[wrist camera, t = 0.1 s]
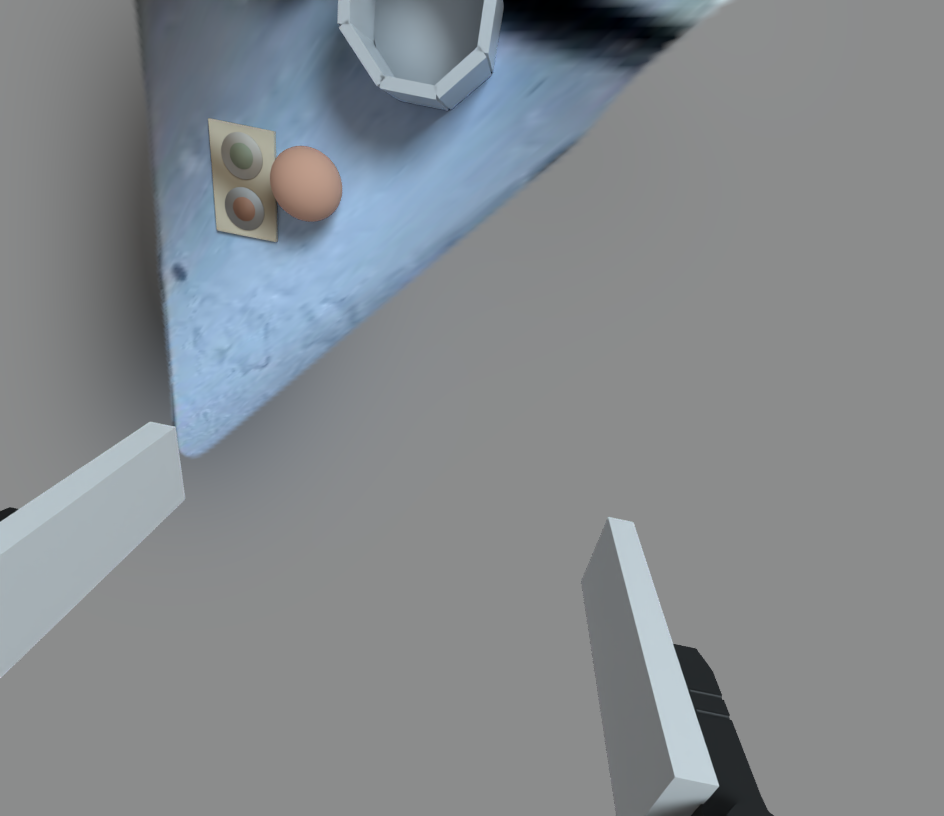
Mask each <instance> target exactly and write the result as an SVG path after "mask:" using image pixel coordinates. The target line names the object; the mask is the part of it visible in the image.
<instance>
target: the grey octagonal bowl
mask: <svg viewBox="0 0 944 816" xmlns="http://www.w3.org/2000/svg"><path fill="white" fill-rule="evenodd" d="M503 9H504V5H503V0H338V24H339V25H340V27H339V29H340V30H341V32H342V33H343V35H344V36H345V38H346V40H347V41H348V43H349V44H350V46H351V47H352V49H353V50H354V52H355V53H356V55H357V57H358V58H359V60H360V61H361V63H362V64H363V66H364V67H365V69H366V70H367V72H368V73H369V75H370V77H371V78H372V80H373V81H374V83H375V84H376V86H377V87H379V88H380V89H382V90H383V91H385V92H386V93H388V94H390V95H391V96H393V97H395V98H396V99H398V100H399V101H402V102H407V103H412V104H417V105H422V106H427V107H432V108H437V109H442V110H447V111H448V109H449V108H450V109H451V110H452V109H453V108H454V107H455V106H456V105H457V104H459V103H460V102H461V101H462V100H463V99H464V98H466V97H467V96H468V95H469V94H470V93H471V92H473V91H474V90H475V89H476V88H477V87H478V86H480V85H481V84H482V83H483V82H484V81H485V80H487V79H488V78H489V77H490V76H491V72H493V71H494V64H495V58H496V52H497V46H498V40H499V34H500V27H501V21H502V15H503ZM490 71H491V72H490Z"/></svg>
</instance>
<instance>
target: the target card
mask: <svg viewBox="0 0 944 816" xmlns="http://www.w3.org/2000/svg"><path fill="white" fill-rule="evenodd" d="M208 122H209V135H210V148H211V161H212V174H213V186H214V199H215V212H216V225H217V230H218V231H223V232H228V233H233V234H238V235H243V236H248V237H253V238H258V239H263V240H268V241H273V242H278V234H277V201H276V199H275V197H274V195H273V192H272V189H271V185H270V172H271V168H272V165H273V162H274V161H275V159H276V132H275V131H270V130H265V129H260V128H255V127H250V126H245V125H240V124H235V123H230V122H225V121H220V120H215V119H210V118H208Z"/></svg>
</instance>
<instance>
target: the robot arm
mask: <svg viewBox="0 0 944 816" xmlns="http://www.w3.org/2000/svg"><path fill="white" fill-rule="evenodd" d="M184 500H185V493H184V486H183V478H182V471H181V464H180V457H179V449H178V442H177V434H176V427H174V426H169V425H164V424H159V423H154V422H149V423H147V424H146V425H144V426H143V427H142V428H140V429H138V430H137V431H135V432H134V433H132V434H131V435H130V436H128V437H126V438H125V439H124V440H122V441H120V442H119V443H118V444H116V445H114V446H113V447H112V448H110V449H108V450H107V451H106V452H104V453H102V454H101V455H99V456H98V457H97V458H95V459H94V460H92V461H90V462H89V463H88V464H86V465H85V466H83V467H82V468H80V469H79V470H77V471H76V472H74V473H73V474H71V475H70V476H68V477H67V478H65V479H64V480H62V481H61V482H59V483H58V484H56V485H55V486H53V487H52V488H50V489H49V490H47V491H46V492H44V493H43V494H41V495H40V496H38V497H37V498H35V499H34V500H32V501H31V502H29V503H28V504H26V505H25V506H23V507H22V508H20V509H16V508H7V509H5V510H2V511H0V678H1V677H2V676H3V675H4V674H5V673H6V672H7V671H8V670H9V669H11V668H12V667H13V666H14V664H16V663H17V662H18V661H19V660H20V659H21V658H22V657H23V656H24V655H25V654H26V653H27V652H28V651H29V650H30V649H31V648H32V647H33V646H34V645H35V644H36V643H37V642H38V641H39V640H40V639H41V638H42V637H43V636H44V635H46V634H47V633H48V632H49V631H50V630H51V629H52V628H53V627H54V626H55V625H56V624H57V623H58V622H59V621H60V620H61V619H62V618H63V617H64V616H65V615H66V614H67V613H68V612H69V611H70V610H71V609H72V608H73V607H74V606H76V604H78V603H79V602H80V600H82V599H83V598H84V597H85V596H86V595H87V594H88V593H89V592H90V591H91V590H92V589H93V588H94V587H95V586H96V585H97V584H98V583H99V582H100V581H101V580H102V579H103V578H104V577H105V576H106V575H107V574H109V573H110V572H111V571H112V570H113V569H114V568H115V567H116V566H117V565H118V564H119V563H120V562H121V561H122V560H123V559H124V558H125V557H126V556H127V555H128V554H129V553H130V552H131V551H132V550H133V549H134V548H135V547H136V546H137V545H138V544H139V543H140V542H142V541H143V540H144V539H145V538H146V537H147V536H148V535H149V534H150V533H151V532H152V531H153V530H154V529H155V528H156V527H157V526H158V525H159V524H160V523H161V522H162V521H163V520H164V519H165V518H166V517H167V516H168V515H169V514H170V513H171V512H172V511H174V510H175V509H176V508H177V507H178V506H179V505H180V504H181V503H182V502H183V501H184ZM581 584H582V591H583V596H584V604H585V611H586V617H587V624H588V630H589V637H590V644H591V651H592V657H593V664H594V671H595V677H596V684H597V691H598V697H599V704H600V711H601V717H602V724H603V731H604V737H605V744H606V751H607V757H608V764H609V771H610V777H611V784H612V791H613V797H614V804H615V811H616V816H774V815H772V814H771V813H770V812H769V811H768V810H767V808H766V805H765V803H764V802H763V799H762V797H761V795H760V792H759V790H758V787H757V784H756V782H755V779H754V777H753V774H752V772H751V769H750V766H749V764H748V761H747V759H746V756H745V753H744V751H743V748H742V746H741V743H740V741H739V738H738V736H737V733H736V730H735V728H734V725H733V722H732V720H730V719H729V712H728V710H727V707H726V704H725V702H724V700H722V698H721V697H722V694H721V691H720V689H719V686H718V684H717V681H716V679H715V676H714V674H713V671H712V670H711V668H710V667H709V666H708V664H707V663H706V661H705V660H704V659H703V657H702V656H701V655H700V653H699V652H698V651H697V649H695V648H691V647H686V646H681V645H676V644H673V643H672V640H671V637H670V633H669V630H668V627H667V624H666V621H665V618H664V615H663V612H662V609H661V606H660V603H659V599H658V597H657V593H656V590H655V587H654V584H653V581H652V578H651V575H650V572H649V569H648V566H647V563H646V560H645V557H644V553H643V550H642V547H641V545H640V541H639V538H638V535H637V532H636V529H635V526H634V523H633V522H630V521H625V520H620V519H615V518H611V517H608V518H607V521H606V523H605V525H604V528H603V530H602V533H601V535H600V537H599V540H598V542H597V545H596V547H595V550H594V552H593V554H592V557H591V559H590V561H589V564H588V566H587V568H586V571H585V573H584V576H583V578H582V581H581Z"/></svg>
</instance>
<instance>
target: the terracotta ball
mask: <svg viewBox="0 0 944 816" xmlns="http://www.w3.org/2000/svg"><path fill="white" fill-rule="evenodd" d="M270 185H271V189H272V192H273V195H274V197H275V199H276V201H277V202H278V204H279V205H280V206H281V207H282V208H283V209H284V210H285V211H286V212H287V213H288V214H290V215H291V216H293V217H295V218H297V219H299V220H303V221H309V222H313V221H320V220H323V219H325V218H327V217H329V216H330V215H331V214H332V213H333V212H334V211H335V210H336V209H337V207H338V205H339V203H340V201H341V197H342V182H341V178H340V175H339V172H338V170H337V168H336V167H335V165H334V164H333V162H332V161H331V160H330V159H329V158H328V157H327V156H326V155H324V154H323V153H322V152H320V151H318V150H316V149H314V148H311V147H307V146H295V147H291V148H288V149H286V150H284V151H283V152H282V153H280V154H279V155H278V157H277V158H276V159H275V161H274V162H273V165H272V168H271V172H270Z"/></svg>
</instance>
